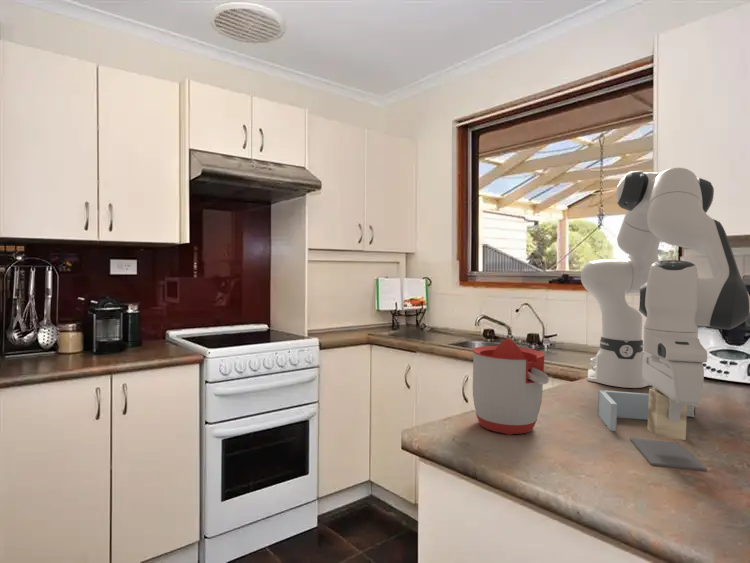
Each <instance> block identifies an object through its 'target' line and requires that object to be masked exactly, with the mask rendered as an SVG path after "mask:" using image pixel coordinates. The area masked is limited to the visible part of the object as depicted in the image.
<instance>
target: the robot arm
mask: <svg viewBox="0 0 750 563" xmlns="http://www.w3.org/2000/svg"><path fill="white" fill-rule="evenodd" d="M714 192H715V190H714V186H713V184H712V182H711V181H709V180H707V179H703V178H701V177H697V176H696V174H695V173H694V172H693V171H691V170H690V169H687V168H685V167H672V168H668V169H666V170H663V171H662V172H656V171H655V172H653V171H652V172H651V171H648V172H647V171H645V172H643V170H634V171H628V173H626V174H624V175H623V176H622V178H621V179H620V181H619V183H618V185H617V187H616V192H615V197H616V204H618V207H619V208H621V209H623V210H625V211H626V212H625V215H624V218H623V221H622V224H621V226H620V228H619V232H618V234H617V238H616V241H617V242H616V243H617V245H618V247H619V249H620V250H621V251H623V252H624V253H625V254H627V255H628V257H626V259H613V258H612V259H611V258H610V259H609V258H608V259H607V258H605V259H604V258H602V259H598V260H593V261H592V260H591V261H588V262H587V263H586V264H585V265H584V266H583V267H582V270H581V272H580V282H581V284H582V286H583V288H584V289H585V291H588V292H589V293H590V294H591V296H593V297H594V298H595V300H596V301H597V303H598V305H599V309H600V312H601V321H602V322H601V323H602V329H601V330H602V333H601V334H602V335H601V336H600V340H599V348H600V349H599V350H598V352H597V353H596V355H595V357H592V358H590V360H589V361H590V362H589V365H590V366H592V368H591V369H590V368H589V369H588V370H587V381H589V382H593V383H599V384H603V385H607V386H611V387H612V386H613V387H619V388H627V389H628V388H630V389H631V388H632V389H638V388H639V389H641V388H644V387H649V386H651V387H652V389H657V390H659V391H660V392H662V393H663V394H664V395H666V396H667V397H669V403H670V405H669V410H667V418H668V419H669V420H670V421H673V422H679V421H680V413H681V411H682V409H683V407H684V405H695V407H697V406H699V405H700V402H701V400H702V398H703V389H704V381H705V380H704V379H705V378H704V377H705V368H704V365H703V363H707V361H708V351H707V349H706V348H705V347H704V345H702V344H701V341H700V339H699V328H698V326H701V327H702V326H703V327H710V328H713V329H721V330H728V331H729V330H732V329H734V328H736V327H738V326H741V324H743V323H744V322H746V321H747V320H748V319H749V316H750V294H749V292H748V289H747V287H746V284H745V283H744V279H743V278H742V277H741V274H740V271H739V268H738V264H737V262H736V259H735V255H734V253H733V250H732V247H731V243H730V241H729V238H728V235H727V233H726V230H725V228H724V226H723V224H722V223H721V222H720V221H718V220H716V219H714V218H712V217H710V215H708V214H707V212H708V211H709V209H710V207H711V206H712V204H713V201H714V195H715V194H714ZM661 241H662V242H663V243H665V244H668V245H671V246H675V247H679V248H685V249H689V250H692V251H694V252H697V253H700V254H702V256H704V257H706V259H707V261H708V264H709V268H710V271H711V275H712V277H709V278H704V277H703V278H699V275H698V268H697V265H696V264H695V263H693V262H690V261H686V260H680V259H679V260H678V259H677V260H676V259H665V260H659V257H658V251H659V247H660V243H661ZM626 295H631V296H632V295H634V296H635V295H636V296H637V295H638V296H639V308H638V310H637V308H634V307H632V306H631V305H629V304H628V302H627V300H626ZM642 316H644V317H646V319H645V323H644V325H643V317H642ZM642 330H643V331H642ZM642 334H643V339H642Z"/></svg>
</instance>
